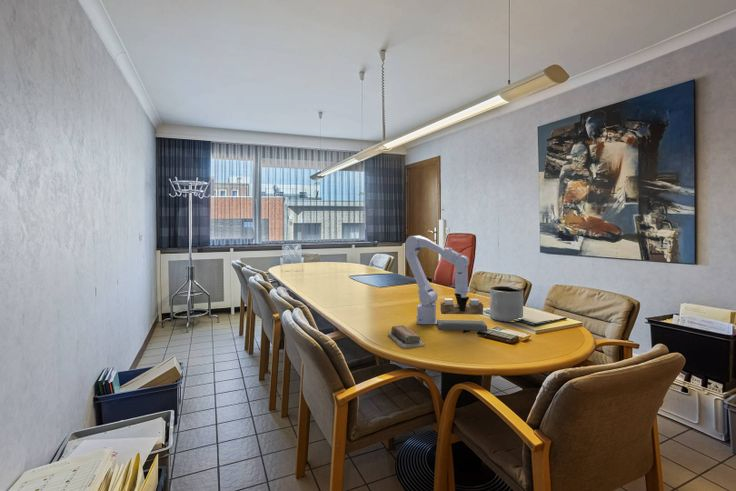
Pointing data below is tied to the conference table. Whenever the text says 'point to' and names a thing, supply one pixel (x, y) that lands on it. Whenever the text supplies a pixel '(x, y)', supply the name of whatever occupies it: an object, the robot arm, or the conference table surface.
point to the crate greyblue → (474, 301)
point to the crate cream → (448, 301)
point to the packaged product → (405, 337)
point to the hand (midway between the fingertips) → (461, 309)
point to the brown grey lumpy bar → (468, 310)
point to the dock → (461, 324)
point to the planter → (506, 303)
